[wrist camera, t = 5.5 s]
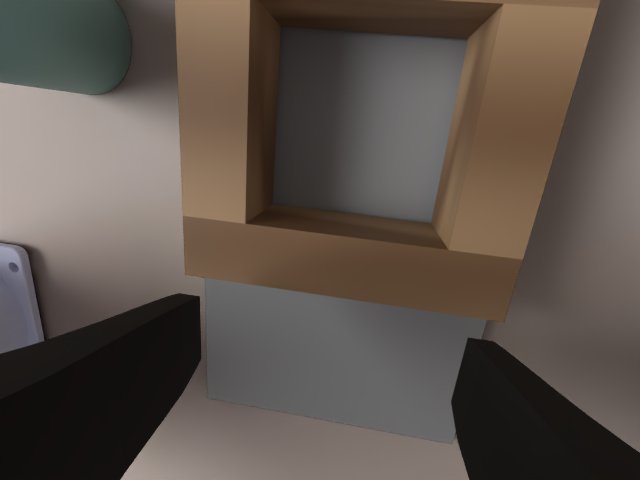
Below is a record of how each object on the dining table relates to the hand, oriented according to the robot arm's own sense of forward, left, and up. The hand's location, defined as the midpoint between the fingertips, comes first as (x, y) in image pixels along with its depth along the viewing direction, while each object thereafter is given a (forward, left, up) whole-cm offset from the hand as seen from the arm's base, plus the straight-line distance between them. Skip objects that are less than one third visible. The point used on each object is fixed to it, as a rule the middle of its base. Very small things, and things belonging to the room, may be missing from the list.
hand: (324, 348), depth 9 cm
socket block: (+6, 0, -5) cm, 7 cm away
